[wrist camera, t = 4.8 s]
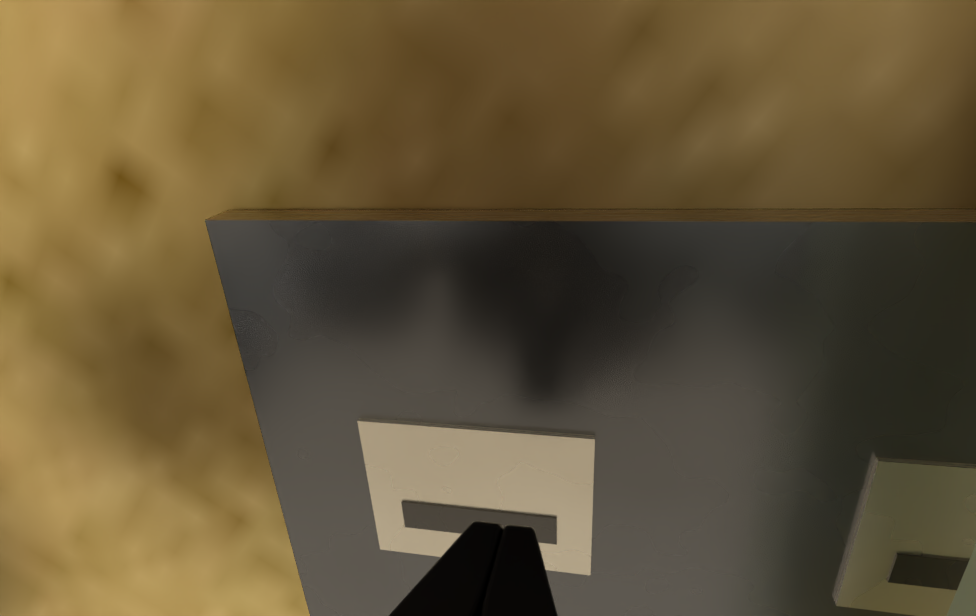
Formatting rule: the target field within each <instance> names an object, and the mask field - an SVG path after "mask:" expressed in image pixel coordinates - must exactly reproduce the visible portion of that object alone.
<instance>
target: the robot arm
mask: <svg viewBox="0 0 976 616" xmlns="http://www.w3.org/2000/svg"><path fill="white" fill-rule="evenodd" d="M389 616H558V615H557V611H556V607H555V603H554V599H553V596H552V592H551V588H550V584H549V580H548V577H547V573H546V569H545V565H544V562H543V558H542V554H541V550H540V546H539V543H538V539H537V535H536V532H535V530H534V528H533V527H530V526H522V525H513V524H507V525H505V527H503V526H502V525H501V524H500V523H495V522H486V521H474V522H472V523H471V524H470V525H469V526H468V527H467V528H466V529H465V531H464V532H463V533H462V534H461V535H460V536H459V537H458V538H457V540H456V541H455V542H454V543H453V544H452V545H451V546H450V547H449V549H448V550H447V551H446V552H445V553H444V554H443V555H442V556H441V558H440V559H439V560H438V561H437V562H436V563H435V564H434V565H433V566H432V568H431V569H430V570H429V571H428V572H427V573H426V574H425V575H424V577H423V578H422V579H421V580H420V581H419V582H418V583H417V584H416V586H415V587H414V588H413V589H412V590H411V591H410V592H409V593H408V594H407V596H406V597H405V598H404V599H403V600H402V601H401V602H400V603H399V605H398V606H397V607H396V608H395V609H394V610H393V611H392V612H391V614H390V615H389Z"/></svg>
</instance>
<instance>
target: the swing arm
mask: <svg viewBox="0 0 976 616" xmlns="http://www.w3.org/2000/svg"><path fill="white" fill-rule="evenodd" d="M947 616H976V545H975V548H974V550H973V553H972V555H971V557H970V560H969V562H968V565H967V567H966V570H965V572H964V574H963V577H962V579H961V582H960V584H959V586H958V589H957V591H956V594H955V596H954V599H953V601H952V603H951V606H950V608H949V611H948V613H947Z"/></svg>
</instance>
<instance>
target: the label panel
mask: <svg viewBox="0 0 976 616" xmlns="http://www.w3.org/2000/svg"><path fill="white" fill-rule="evenodd" d="M205 222H206V226H207V230H208V234H209V237H210V241H211V245H212V249H213V252H214V256H215V260H216V264H217V267H218V271H219V275H220V279H221V282H222V286H223V290H224V294H225V297H226V301H227V305H228V309H229V312H230V316H231V320H232V324H233V328H234V331H235V335H236V339H237V343H238V346H239V350H240V354H241V358H242V361H243V365H244V369H245V373H246V376H247V380H248V384H249V388H250V391H251V395H252V399H253V403H254V406H255V410H256V414H257V418H258V421H259V425H260V429H261V433H262V437H263V440H264V444H265V448H266V452H267V455H268V459H269V463H270V467H271V470H272V474H273V478H274V482H275V485H276V489H277V493H278V497H279V500H280V504H281V508H282V512H283V515H284V519H285V523H286V527H287V530H288V534H289V538H290V542H291V546H292V549H293V553H294V557H295V561H296V564H297V568H298V572H299V576H300V579H301V583H302V587H303V591H304V594H305V598H306V602H307V606H308V609H309V613H310V616H389V615H390V614H391V612H392V611H393V610H394V609H395V608H396V607H397V606H398V605H399V603H400V602H401V601H402V600H403V599H404V598H405V597H406V596H407V594H408V593H409V592H410V591H411V590H412V589H413V588H414V587H415V586H416V584H417V583H418V582H419V581H420V580H421V579H422V578H423V577H424V575H425V574H426V573H427V572H428V571H429V570H430V569H431V568H432V566H433V565H434V564H435V563H436V562H437V561H438V560H439V559H440V558H441V556H442V555H443V554H444V553H445V552H446V551H447V550H448V549H449V547H450V546H451V545H452V544H453V543H454V542H455V541H456V540H457V538H458V537H459V536H460V535H461V534H462V533H463V532H464V531H465V529H466V528H467V527H468V526H469V525H470V524H471V523H472V522H474V521H486V522H495V523H500V524H501V525H502V526H503V527H505V525H507V524H513V525H522V526H530V527H533V528H534V530H535V532H536V535H537V539H538V543H539V546H540V550H541V554H542V558H543V562H544V565H545V569H546V573H547V577H548V580H549V584H550V588H551V592H552V596H553V599H554V603H555V607H556V611H557V615H558V616H947V613H948V611H949V608H950V606H951V603H952V601H953V599H954V596H955V594H956V591H957V589H958V586H959V584H960V582H961V579H962V577H963V574H964V572H965V570H966V567H967V565H968V562H969V560H970V557H971V555H972V553H973V550H974V548H975V545H976V209H598V210H227V211H225V212H222V213H220V214H218V215H216V216H213V217H211V218H209V219H206V220H205Z"/></svg>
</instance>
